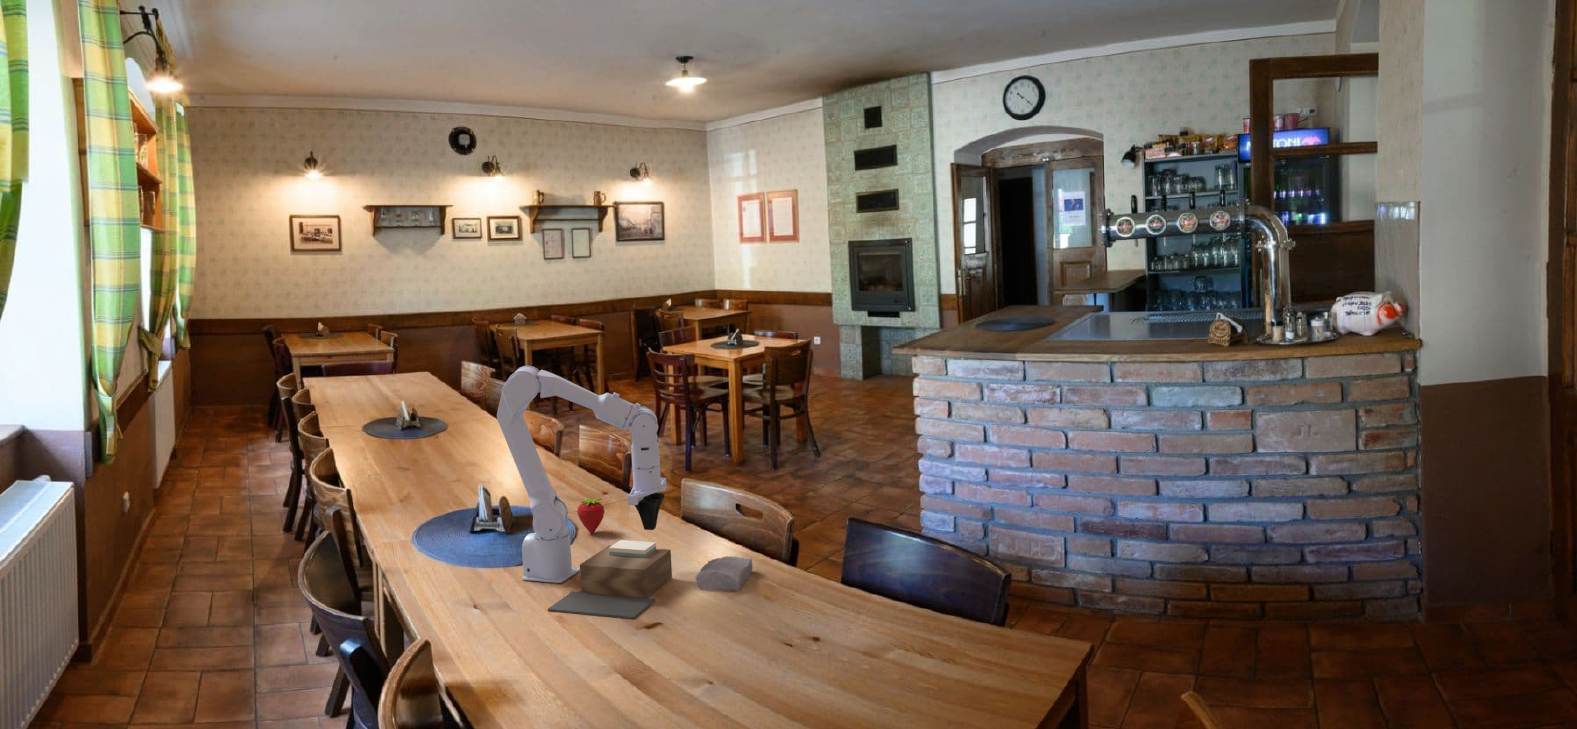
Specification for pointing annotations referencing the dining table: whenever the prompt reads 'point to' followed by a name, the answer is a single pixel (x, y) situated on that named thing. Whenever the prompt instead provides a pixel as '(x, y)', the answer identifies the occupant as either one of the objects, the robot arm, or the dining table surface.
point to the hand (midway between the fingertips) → (650, 529)
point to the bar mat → (602, 605)
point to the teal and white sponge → (632, 548)
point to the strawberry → (591, 513)
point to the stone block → (724, 574)
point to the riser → (626, 573)
